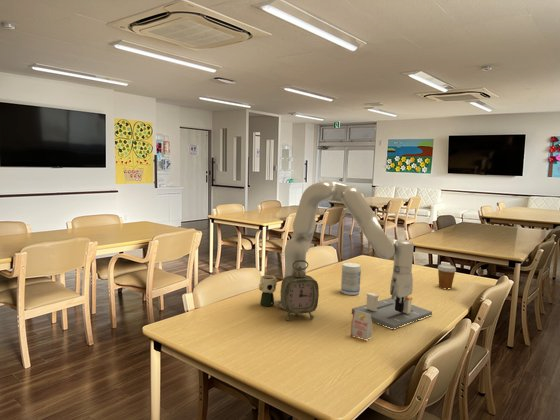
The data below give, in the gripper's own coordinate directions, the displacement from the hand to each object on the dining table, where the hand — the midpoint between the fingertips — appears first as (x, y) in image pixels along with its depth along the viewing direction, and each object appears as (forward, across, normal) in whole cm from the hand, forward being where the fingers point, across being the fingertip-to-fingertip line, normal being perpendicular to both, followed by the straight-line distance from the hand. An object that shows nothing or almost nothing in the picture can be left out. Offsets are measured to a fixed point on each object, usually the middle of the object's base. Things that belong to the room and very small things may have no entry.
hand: (399, 310), depth 174 cm
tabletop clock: (+4, -36, +25) cm, 44 cm away
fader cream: (+1, -6, +10) cm, 12 cm away
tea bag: (+4, -28, -3) cm, 28 cm away
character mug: (+4, -38, +44) cm, 58 cm away
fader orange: (+1, +4, 0) cm, 5 cm away
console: (+4, +2, +5) cm, 7 cm away
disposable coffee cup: (+4, +62, +14) cm, 64 cm away
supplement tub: (+4, +9, +36) cm, 37 cm away
